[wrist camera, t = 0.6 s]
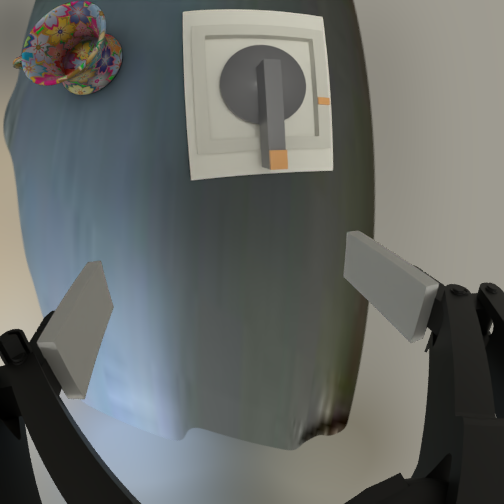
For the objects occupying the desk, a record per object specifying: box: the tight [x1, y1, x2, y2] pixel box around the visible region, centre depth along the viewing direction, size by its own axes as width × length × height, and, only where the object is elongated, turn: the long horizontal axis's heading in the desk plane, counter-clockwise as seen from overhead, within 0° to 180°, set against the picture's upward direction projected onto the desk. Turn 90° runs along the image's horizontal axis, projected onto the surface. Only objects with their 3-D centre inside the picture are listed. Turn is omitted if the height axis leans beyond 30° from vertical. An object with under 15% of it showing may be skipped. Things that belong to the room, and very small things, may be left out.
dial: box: [219, 45, 306, 170], centre depth 29 cm, size 15×10×6 cm, turn 3°
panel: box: [183, 9, 333, 180], centre depth 30 cm, size 22×18×3 cm
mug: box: [13, 1, 122, 95], centre depth 21 cm, size 12×9×11 cm
